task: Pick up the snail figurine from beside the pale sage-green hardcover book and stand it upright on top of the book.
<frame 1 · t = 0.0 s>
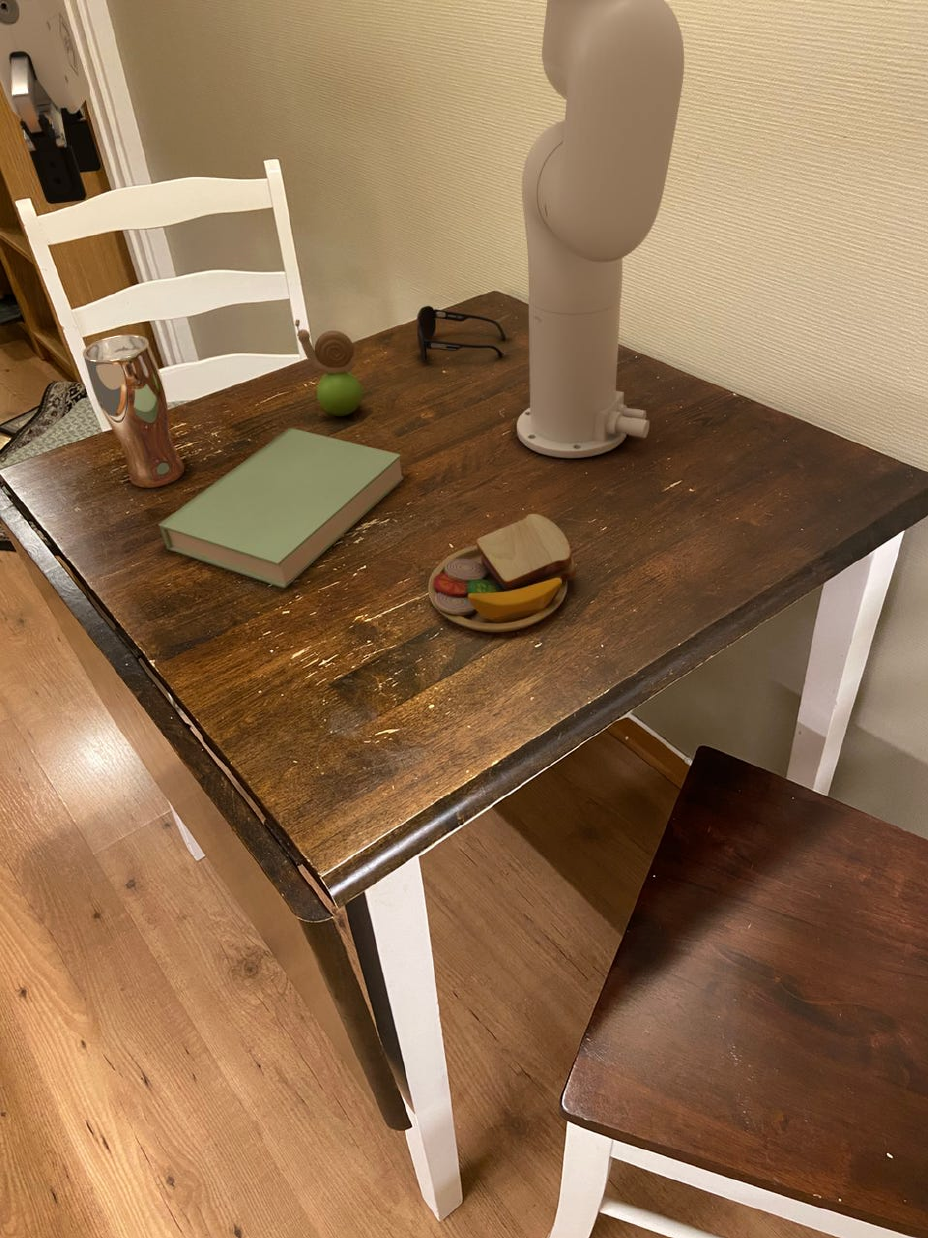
hand: (76, 185, 76), 31 cm above the table, tool pointing down, fingers open, 9 cm apart
book: (290, 512, 92), on the table
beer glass: (158, 475, 100), on the table
toy sandwich meal: (502, 591, 80), on the table
snail figurine: (339, 415, 108), on the table
sunglasses: (461, 350, 120), on the table
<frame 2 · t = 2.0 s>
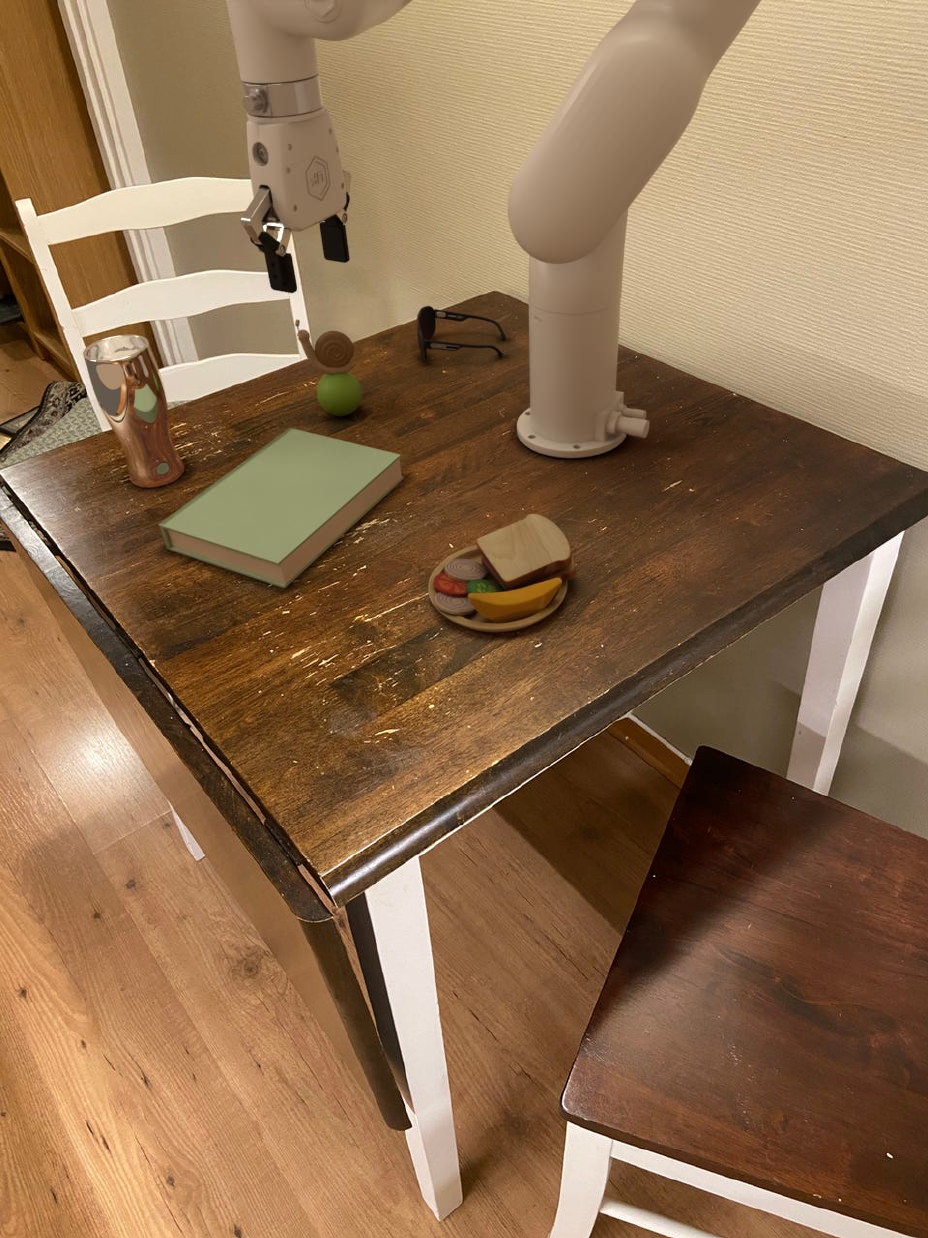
hand: (311, 275, 97), 17 cm above the table, tool pointing down, fingers open, 9 cm apart
nothing on the table moved.
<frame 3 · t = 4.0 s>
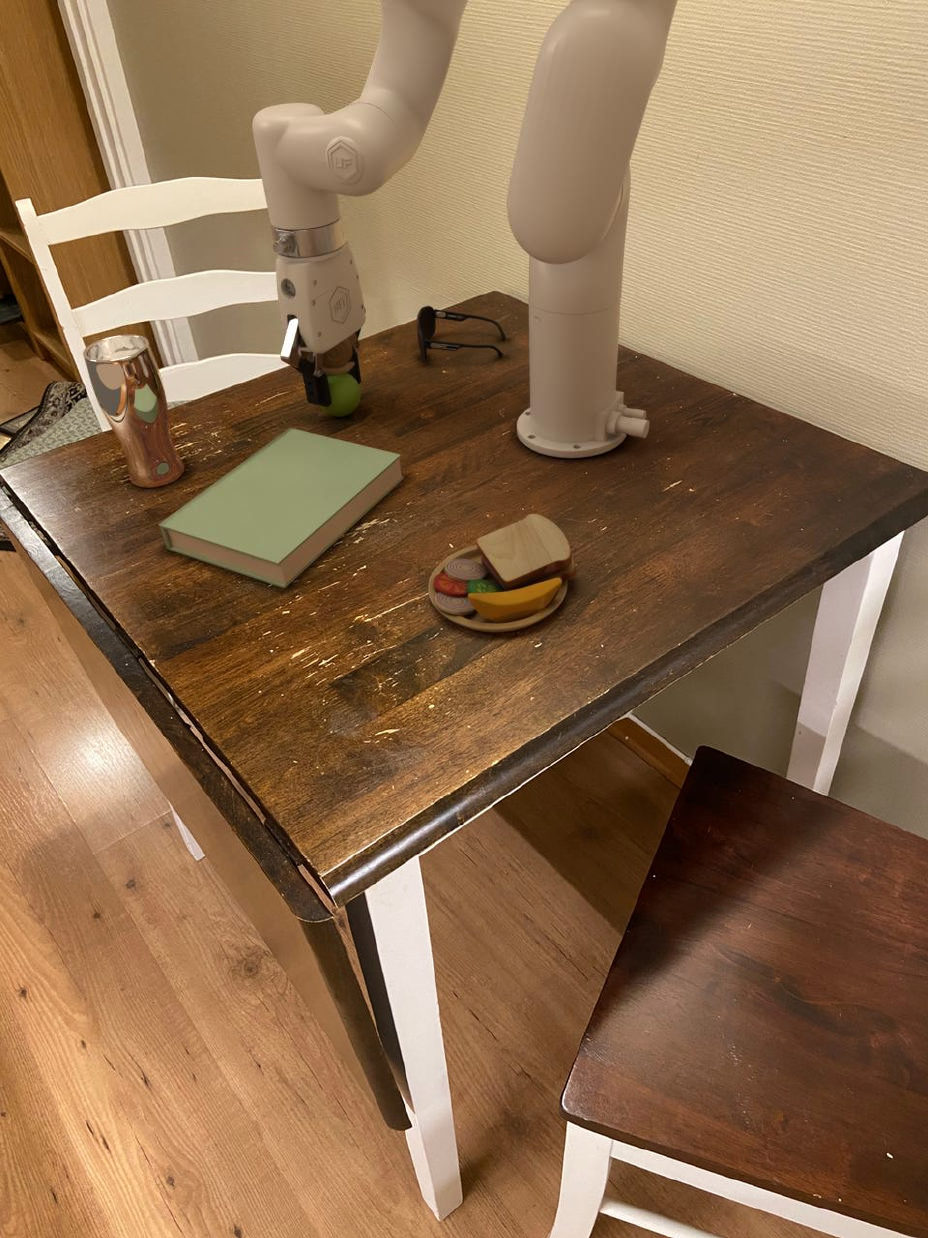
hand: (334, 391, 106), 3 cm above the table, tool pointing down, fingers closed on snail figurine, 5 cm apart
snail figurine: (337, 416, 108), on the table, touching gripper
everything else where it was.
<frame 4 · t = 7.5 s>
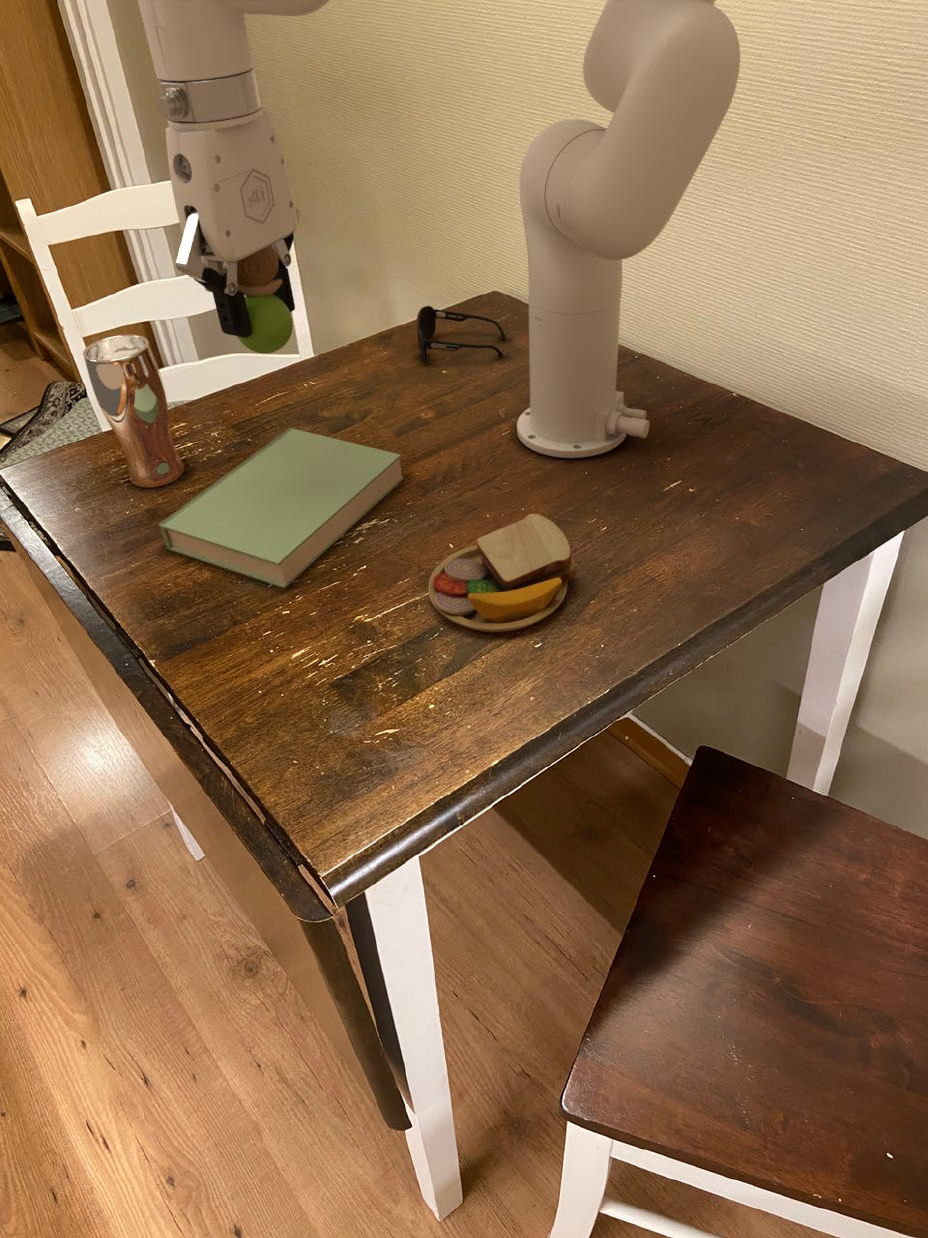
hand: (259, 319, 82), 19 cm above the table, tool pointing down, fingers closed on snail figurine, 5 cm apart
snail figurine: (264, 353, 84), point 16 cm above the table, touching gripper
everything else where it was.
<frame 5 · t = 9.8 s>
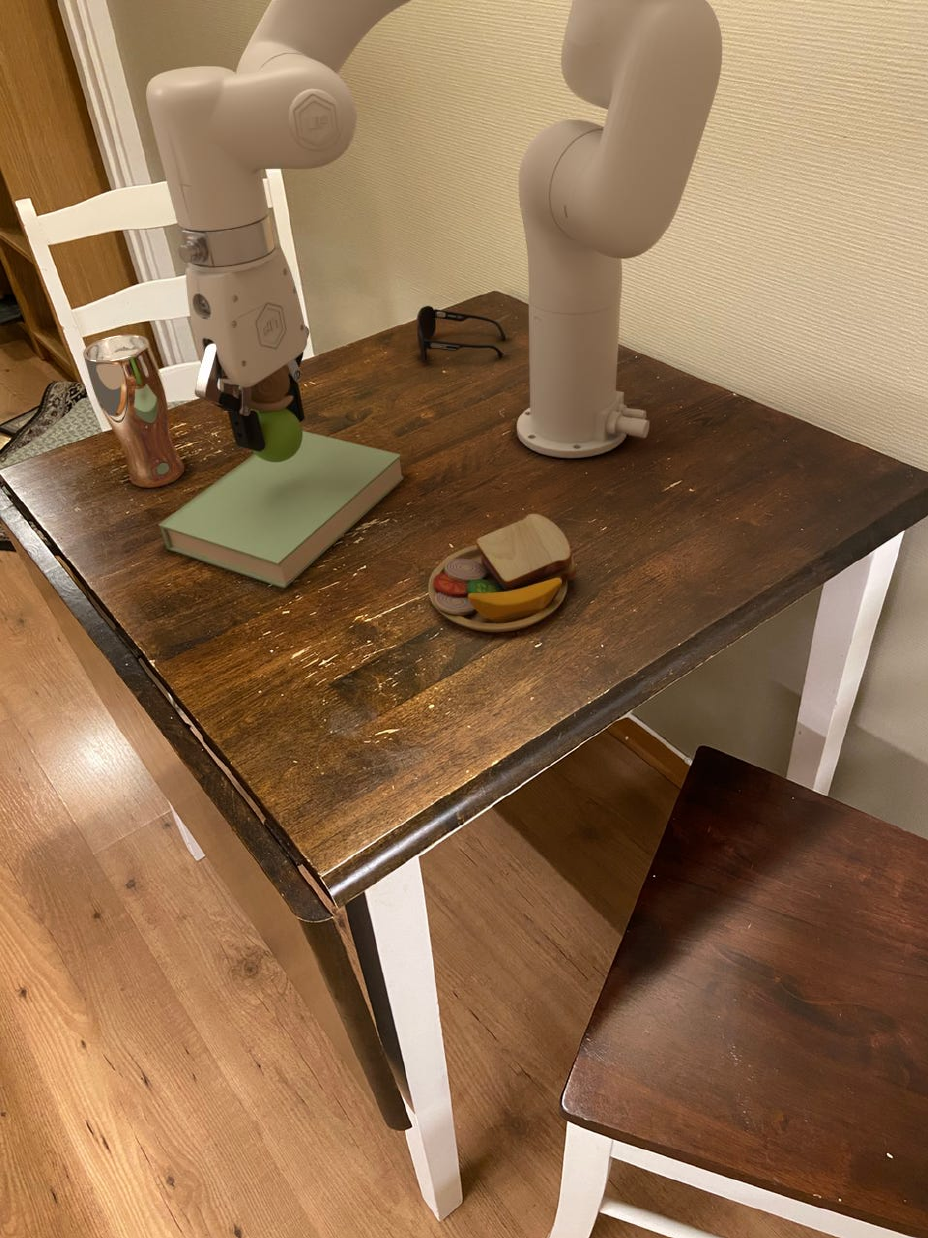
hand: (271, 431, 86), 10 cm above the table, tool pointing down, fingers closed on snail figurine, 5 cm apart
snail figurine: (275, 460, 88), point 6 cm above the table, touching gripper
everything else where it was.
when the fingers open (6 cm above the table, at t = 11.2 s): snail figurine stays where it is, resting on book.
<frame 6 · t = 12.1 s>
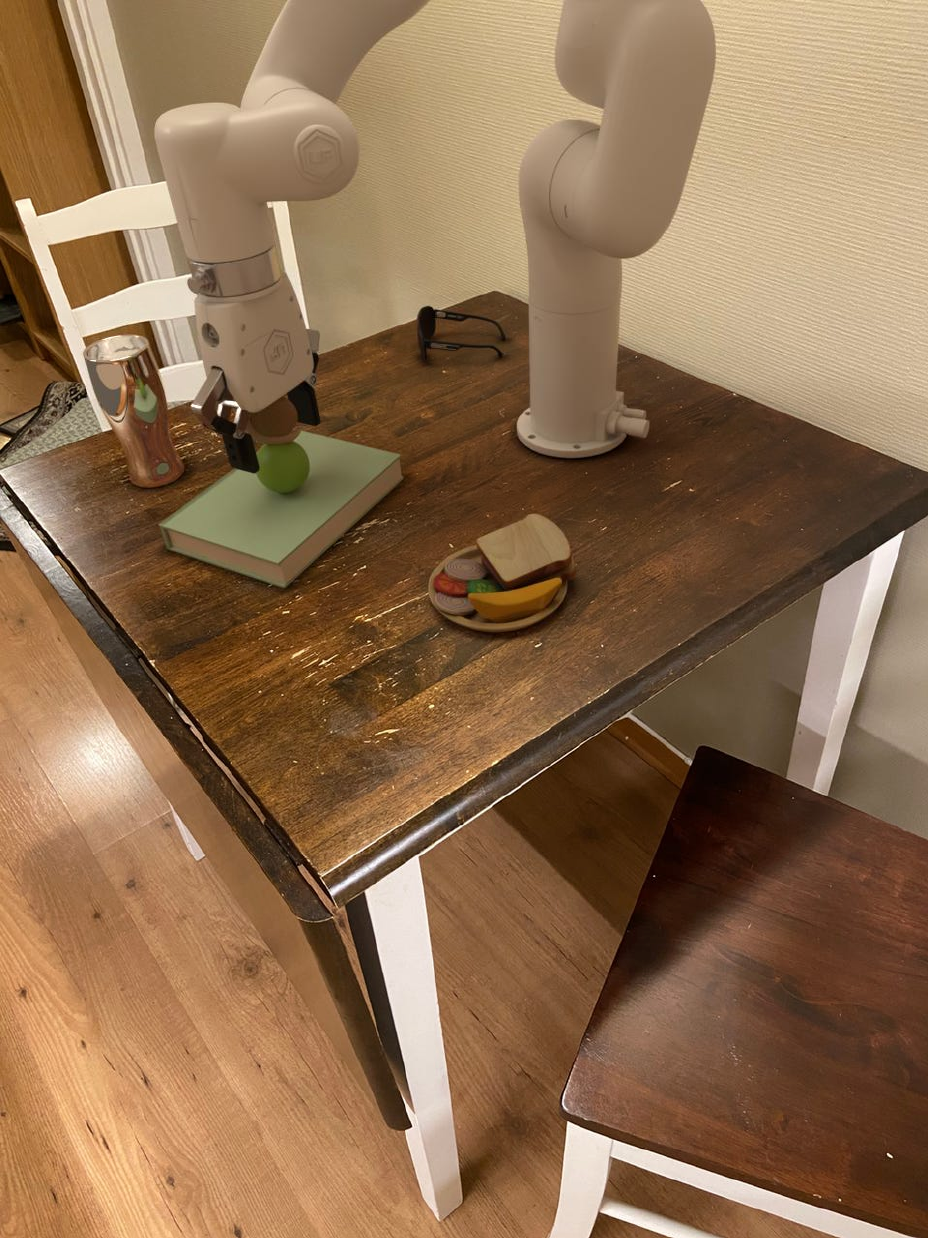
hand: (277, 445, 87), 8 cm above the table, tool pointing down, fingers open, 9 cm apart
snail figurine: (283, 490, 90), point 3 cm above the table, touching book
everything else where it was.
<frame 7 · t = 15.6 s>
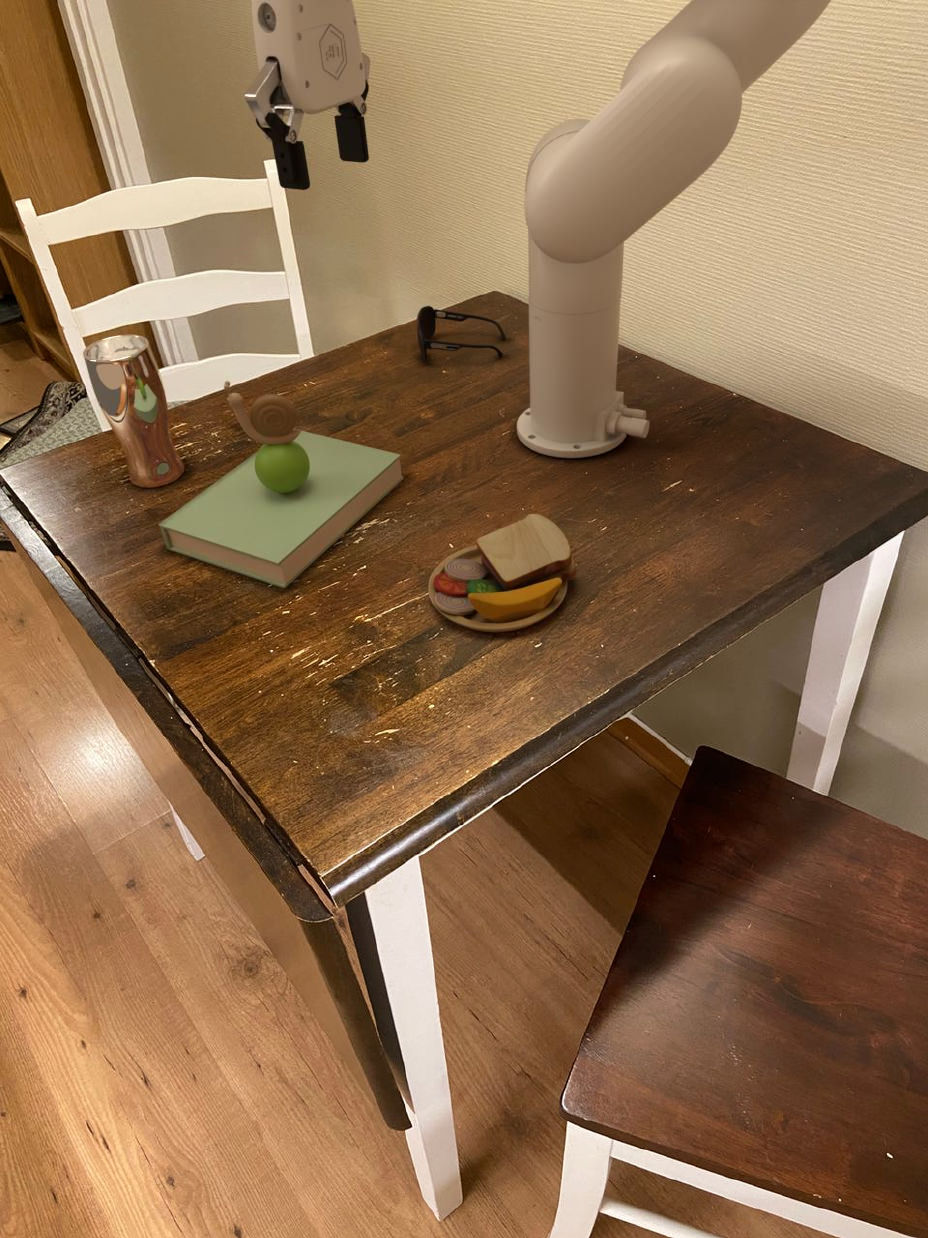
hand: (326, 173, 85), 28 cm above the table, tool pointing down, fingers open, 9 cm apart
nothing on the table moved.
at the end: snail figurine inside the target area on the book (0.3 cm from its centre), point 2.8 cm above the book's base; snail figurine tilted 0°; the gripper is holding nothing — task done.
